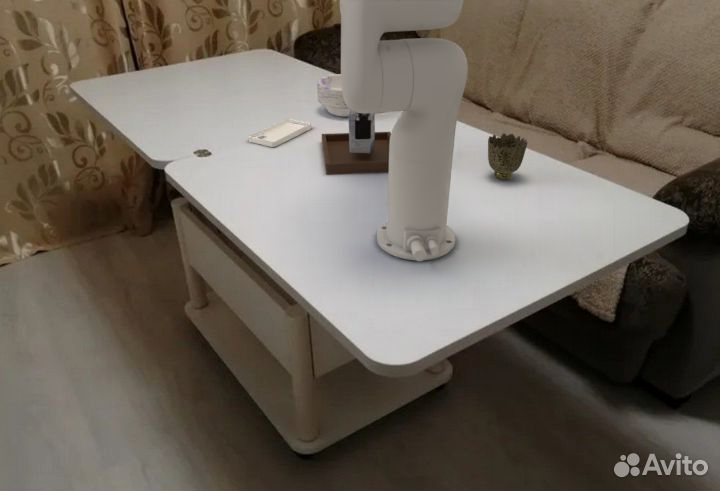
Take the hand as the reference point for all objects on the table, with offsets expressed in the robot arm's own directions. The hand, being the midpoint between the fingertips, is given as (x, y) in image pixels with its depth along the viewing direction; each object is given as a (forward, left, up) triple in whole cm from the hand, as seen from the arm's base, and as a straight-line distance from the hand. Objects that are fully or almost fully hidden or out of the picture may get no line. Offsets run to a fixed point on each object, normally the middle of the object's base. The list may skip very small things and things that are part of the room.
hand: (360, 130), depth 125 cm
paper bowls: (+31, 0, -6) cm, 31 cm away
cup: (-14, -27, -6) cm, 31 cm away
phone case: (+15, +17, -6) cm, 23 cm away
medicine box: (0, 0, -4) cm, 4 cm away
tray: (0, 0, -6) cm, 6 cm away
